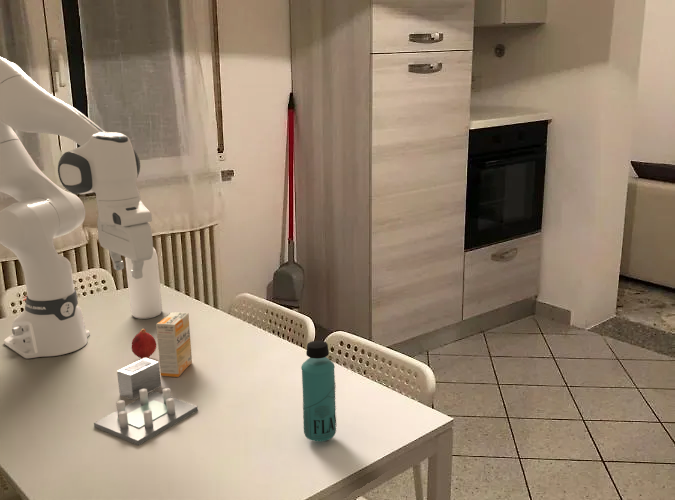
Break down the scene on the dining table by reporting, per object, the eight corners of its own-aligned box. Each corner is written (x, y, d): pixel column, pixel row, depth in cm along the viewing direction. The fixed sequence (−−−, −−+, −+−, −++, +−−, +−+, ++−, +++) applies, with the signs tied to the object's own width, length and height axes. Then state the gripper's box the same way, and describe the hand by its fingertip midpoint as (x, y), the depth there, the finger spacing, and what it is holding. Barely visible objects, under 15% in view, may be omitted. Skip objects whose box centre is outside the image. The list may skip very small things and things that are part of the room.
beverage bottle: (310, 452, 131) (307, 353, 126) (298, 435, 137) (294, 340, 132) (342, 444, 134) (340, 346, 128) (328, 428, 140) (326, 334, 134)
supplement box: (179, 377, 163) (174, 325, 159) (160, 376, 164) (155, 323, 160) (193, 362, 171) (189, 312, 167) (174, 361, 172) (170, 311, 168)
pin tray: (94, 427, 142) (92, 409, 141) (154, 395, 155) (153, 378, 154) (138, 445, 135) (136, 426, 134) (197, 410, 148) (196, 393, 147)
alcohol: (165, 308, 208) (156, 208, 200) (159, 318, 199) (149, 215, 191) (134, 309, 208) (124, 209, 199) (128, 320, 199) (117, 216, 191)
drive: (119, 395, 155) (117, 370, 153) (147, 381, 161) (145, 357, 160) (133, 400, 153) (130, 374, 151) (161, 386, 159) (158, 361, 157)
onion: (139, 366, 169) (136, 335, 167) (128, 359, 173) (125, 328, 171) (161, 359, 173) (158, 329, 171) (150, 352, 177) (147, 322, 175)
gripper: (86, 206, 154) (95, 267, 157) (125, 219, 138) (134, 286, 142) (114, 202, 158) (122, 261, 161) (155, 214, 142) (162, 279, 146)
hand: (128, 273), depth 151 cm, fingers open, 8 cm apart
